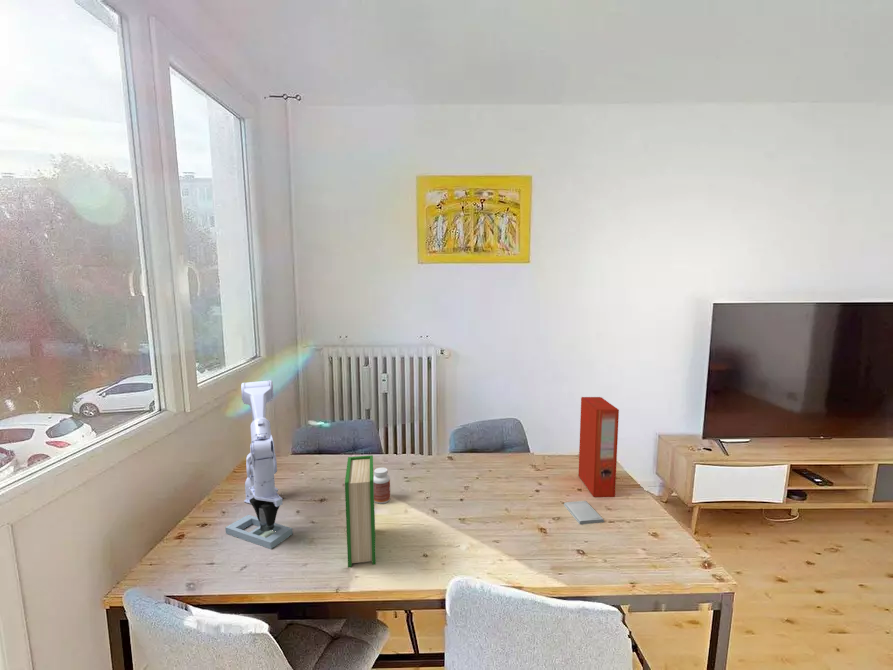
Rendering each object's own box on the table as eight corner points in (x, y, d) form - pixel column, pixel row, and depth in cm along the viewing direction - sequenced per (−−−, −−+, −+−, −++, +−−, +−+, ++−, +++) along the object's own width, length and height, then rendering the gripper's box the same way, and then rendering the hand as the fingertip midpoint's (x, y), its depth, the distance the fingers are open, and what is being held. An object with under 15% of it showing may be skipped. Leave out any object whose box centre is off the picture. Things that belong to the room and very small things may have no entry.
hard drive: (604, 519, 141) (586, 500, 153) (579, 521, 140) (563, 502, 152) (603, 524, 141) (586, 504, 153) (579, 526, 140) (563, 506, 152)
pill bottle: (393, 501, 156) (392, 471, 155) (377, 506, 153) (376, 475, 151) (385, 494, 161) (385, 465, 160) (370, 498, 158) (369, 469, 156)
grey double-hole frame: (225, 533, 136) (225, 527, 136) (248, 520, 144) (248, 514, 144) (270, 549, 128) (270, 542, 128) (292, 534, 136) (292, 528, 135)
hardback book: (375, 564, 121) (373, 480, 118) (347, 567, 120) (344, 482, 117) (375, 529, 138) (372, 455, 135) (350, 531, 137) (348, 457, 134)
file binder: (598, 476, 175) (601, 396, 171) (615, 497, 157) (618, 409, 154) (578, 476, 174) (580, 397, 171) (593, 497, 157) (595, 409, 154)
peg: (257, 529, 134) (256, 507, 133) (268, 523, 137) (267, 501, 136) (265, 532, 131) (264, 510, 131) (277, 526, 135) (276, 504, 134)
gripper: (290, 480, 131) (292, 523, 133) (262, 468, 140) (264, 509, 141) (269, 489, 126) (271, 534, 127) (241, 476, 134) (243, 519, 136)
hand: (266, 522), depth 134 cm, fingers closed on peg, 4 cm apart
